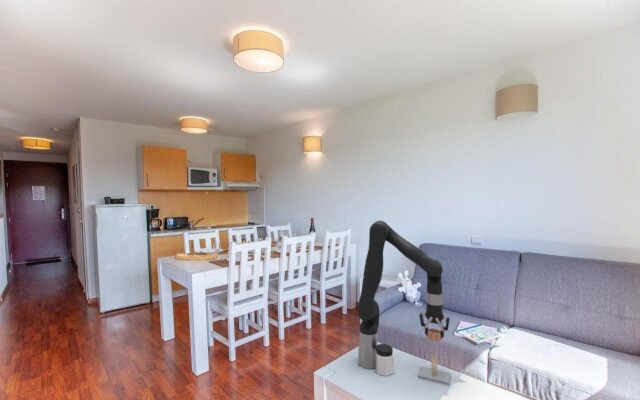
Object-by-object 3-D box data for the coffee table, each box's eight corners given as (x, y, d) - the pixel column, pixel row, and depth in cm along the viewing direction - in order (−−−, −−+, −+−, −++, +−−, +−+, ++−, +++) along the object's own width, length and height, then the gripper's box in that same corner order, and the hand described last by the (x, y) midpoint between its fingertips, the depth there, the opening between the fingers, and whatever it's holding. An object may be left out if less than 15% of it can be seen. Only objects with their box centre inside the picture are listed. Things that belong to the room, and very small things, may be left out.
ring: (427, 339, 150) (427, 332, 150) (428, 334, 155) (428, 327, 155) (440, 342, 147) (440, 334, 147) (441, 336, 153) (441, 329, 152)
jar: (383, 378, 150) (383, 353, 150) (372, 370, 157) (372, 346, 157) (396, 372, 155) (396, 348, 155) (384, 365, 162) (384, 342, 162)
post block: (417, 377, 151) (418, 358, 150) (420, 368, 159) (420, 350, 159) (449, 385, 145) (449, 365, 144) (450, 375, 153) (450, 356, 153)
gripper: (417, 302, 151) (417, 336, 151) (450, 306, 144) (450, 342, 145) (420, 297, 157) (420, 330, 158) (450, 301, 151) (450, 336, 151)
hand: (434, 336), depth 151 cm, fingers closed on ring, 6 cm apart
